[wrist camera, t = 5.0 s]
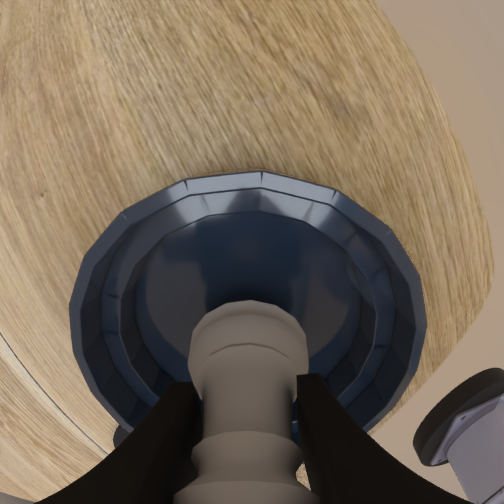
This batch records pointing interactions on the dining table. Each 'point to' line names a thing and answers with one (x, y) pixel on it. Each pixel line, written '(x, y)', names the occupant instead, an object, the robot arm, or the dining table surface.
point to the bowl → (247, 289)
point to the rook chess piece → (247, 406)
